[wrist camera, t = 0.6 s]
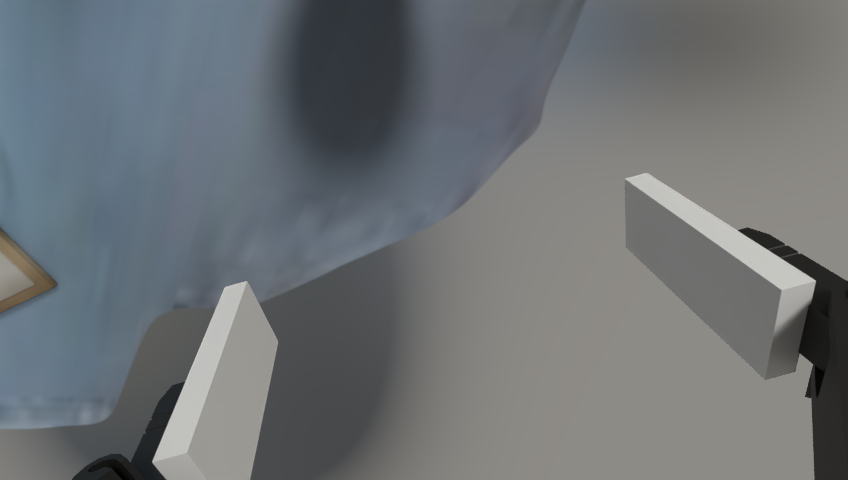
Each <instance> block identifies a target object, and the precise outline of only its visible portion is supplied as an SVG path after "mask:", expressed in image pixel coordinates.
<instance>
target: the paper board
mask: <svg viewBox="0 0 848 480" xmlns="http://www.w3.org/2000/svg"><path fill="white" fill-rule="evenodd" d="M56 285H57V283H56V282H55V281H54V280H53V279H52V278H51V277H50V276H49V275H48V274H47V273H46V272H45V271H44V270H43V269H42V268H41V267H39V266H38V265H37V264H36V263H35V262H34V261H33V260H32V259H31V258H30V257H29V256H28V255H27V254H26V253H25V252H24V251H23V250H22V249H21V248H20V247H19V246H18V245H17V244H16V243H15V242H14V241H13V240H12V239H11V238H10V237H9V236H8V235H6V234H5V233H4V232H3V231H2V230H1V229H0V313H1V312H3V311H5V310H7V309H9V308H11V307H14V306H16V305H18V304H20V303H22V302H24V301H26V300H28V299H30V298H32V297H35V296H37V295H39V294H41V293H43V292H45V291H47V290H49V289H51V288H53V287H55V286H56Z"/></svg>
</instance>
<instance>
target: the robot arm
mask: <svg viewBox="0 0 848 480" xmlns="http://www.w3.org/2000/svg"><path fill="white" fill-rule="evenodd" d="M625 218H626V248H627V249H629V251H631V252H632V253H633V254H634V255H635V256H636V257H637V258H638V259H639V260H640V261H641V262H642V263H643V264H644V265H645V266H646V267H647V268H648V269H649V270H650V271H651V272H653V273H654V274H655V275H656V276H657V277H658V278H659V279H660V280H661V281H662V282H663V283H664V284H665V285H666V286H667V287H668V288H669V289H670V290H671V291H672V292H673V293H675V294H676V295H677V296H678V297H679V298H680V299H681V300H682V301H683V302H684V303H685V304H686V305H687V306H688V307H689V308H690V309H691V310H692V311H693V312H694V313H696V315H697V316H699V317H700V318H701V319H702V320H703V321H704V322H705V323H706V324H707V325H708V326H709V327H710V328H711V329H712V330H713V331H714V332H715V333H716V334H717V335H718V336H720V337H721V338H722V339H723V340H724V341H725V342H726V343H727V344H728V345H729V346H730V347H731V348H732V349H733V350H734V351H735V352H736V353H737V354H738V355H739V356H740V357H741V358H743V359H744V360H745V361H746V362H747V363H748V364H749V365H750V366H751V367H752V368H753V369H754V370H755V371H756V372H757V373H758V374H759V375H760V376H761V377H762V378H763V379H765V380H767V379H770V378H774V377H778V376H781V375H785V374H789V373H792V372H795V371H796V366H797V362H798V357H799V353H800V354H802V355H803V356H804V357H805V358H806V359H808V360H809V361H810V362H811V363H813V367H812V371H811V375H810V379H809V383H808V387H807V391H806V395H805V397H808V398H811V397H812V422H813V447H814V448H813V449H814V473H815V474H814V475H815V480H848V281H846V280H844V279H842V278H841V277H839V276H838V275H836V274H834V273H833V272H831V271H829V270H828V269H826V268H824V267H822V266H821V265H819V264H818V263H816V262H814V261H813V260H811V259H809V258H808V257H806V256H804V255H803V254H798V252H797V251H796V250H794V249H793V248H791V247H789V246H785V244H784V243H783V242H781V241H779V240H778V239H776V238H774V237H772V236H771V235H769V234H766V233H763V232H760V231H756V230H753V229H750V228H744V229H741V230H735V229H734V228H732V227H731V226H729V225H728V224H726V223H725V222H723V221H721V220H720V219H718V218H717V217H715V216H714V215H712V214H711V213H709V212H707V211H706V210H704V209H702V208H701V207H700V206H698V205H696V204H694V203H693V202H692V201H690V200H688V199H687V198H685V197H684V196H682V195H680V194H679V193H678V192H676V191H674V190H673V189H671V188H669V187H668V186H666V185H665V184H663V183H662V182H660V181H659V180H657V179H656V178H654V177H652V176H651V175H649V174H648V173H644V174H641V175H637V176H633V177H630V178H626V179H625ZM277 345H278V341H277V338H276V336H275V334H274V332H273V331H272V329H271V327H270V325H269V323H268V321H267V319H266V317H265V315H264V313H263V311H262V309H261V307H260V305H259V303H258V301H257V299H256V297H255V295H254V293H253V291H252V289H251V287H250V285H249V284H248V282H247V281H245V282H242V283H238V284H234V285H231V286H227V287H225V288H224V291H223V293H222V295H221V298H220V300H219V303H218V305H217V307H216V310H215V312H214V315H213V317H212V319H211V322H210V324H209V327H208V329H207V331H206V334H205V336H204V339H203V341H202V344H201V346H200V348H199V351H198V353H197V356H196V358H195V360H194V363H193V365H192V368H191V370H190V372H189V375H188V377H187V380H186V382H182V383H179V384H175V385H172V387H171V388H170V389H169V390H168V391H167V393H166V394H165V395H164V396H163V397H162V398H161V399H160V401H159V402H158V404H157V407H156V409H155V411H154V413H153V416H152V420H151V421H150V422H149V424H148V426H147V428H146V434H144V435H143V437H142V439H141V441H140V444H139V446H138V448H137V450H136V452H135V454H134V457H133V459H132V461H131V463H130V462H129V461H128V460H127V458H125V457H124V456H122V455H121V454H110V455H107V456H104V457H102V458H99V459H97V460H96V461H94V462H92V463H91V464H89V465H87V466H86V467H85V468H83V469H82V470H81V471H80V472H79V473H78V474H77V475H76V476H74V478H73V479H72V480H250V477H251V472H252V467H253V463H254V458H255V453H256V448H257V443H258V438H259V433H260V428H261V423H262V418H263V414H264V408H265V404H266V399H267V394H268V389H269V384H270V379H271V375H272V370H273V364H274V359H275V355H276V350H277Z"/></svg>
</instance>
